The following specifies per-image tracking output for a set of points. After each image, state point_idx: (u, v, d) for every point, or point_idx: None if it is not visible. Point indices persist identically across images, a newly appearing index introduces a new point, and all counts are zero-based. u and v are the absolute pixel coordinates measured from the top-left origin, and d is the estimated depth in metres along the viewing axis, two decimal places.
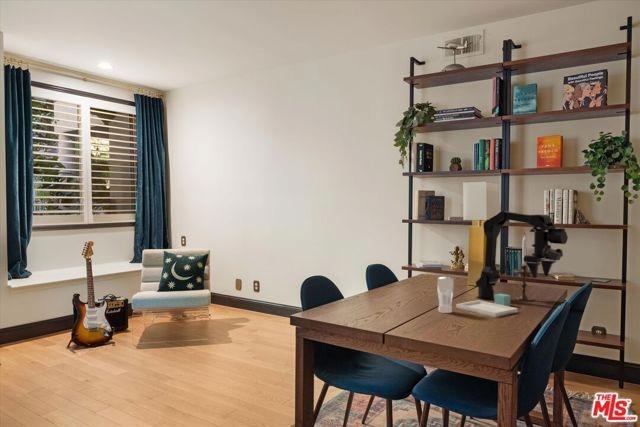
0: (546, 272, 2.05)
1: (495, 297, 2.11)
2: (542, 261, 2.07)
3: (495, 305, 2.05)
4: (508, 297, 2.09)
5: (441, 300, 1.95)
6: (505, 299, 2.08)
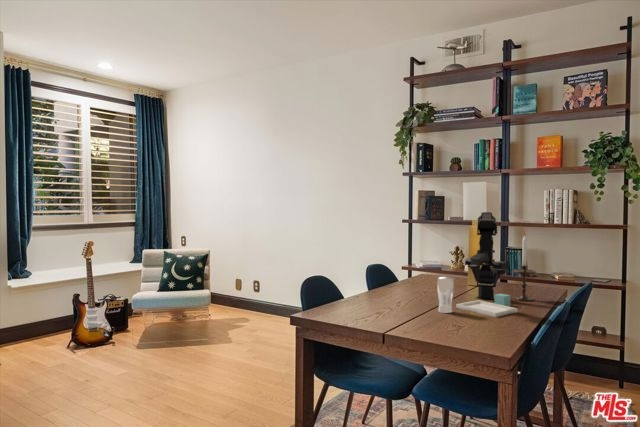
0: None
1: (495, 297, 2.11)
2: None
3: (495, 305, 2.05)
4: (508, 297, 2.09)
5: (441, 300, 1.95)
6: (505, 299, 2.08)
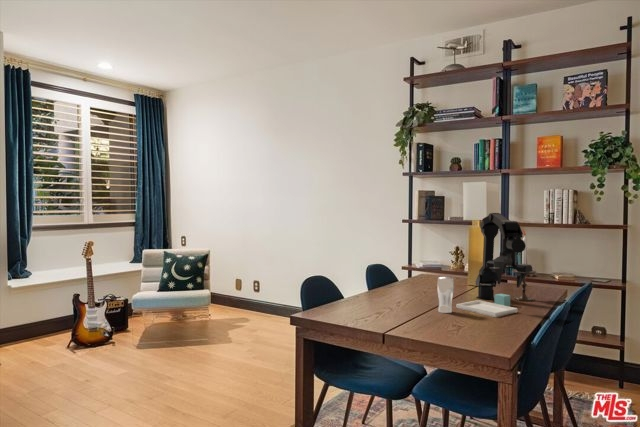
0: None
1: (495, 297, 2.11)
2: None
3: (495, 305, 2.05)
4: (508, 297, 2.09)
5: (441, 300, 1.95)
6: (505, 299, 2.08)
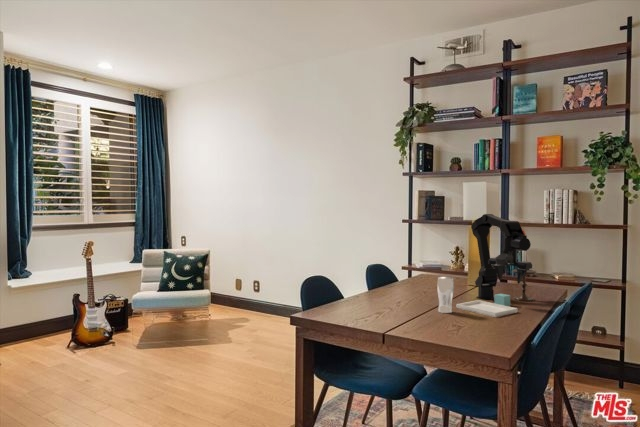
0: None
1: (495, 297, 2.11)
2: None
3: (495, 305, 2.05)
4: (508, 297, 2.09)
5: (441, 300, 1.95)
6: (505, 299, 2.08)
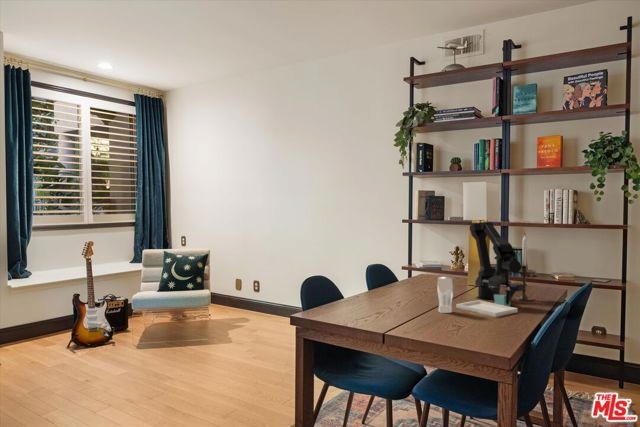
0: None
1: (495, 297, 2.11)
2: None
3: (495, 305, 2.05)
4: None
5: (441, 300, 1.95)
6: (505, 299, 2.08)
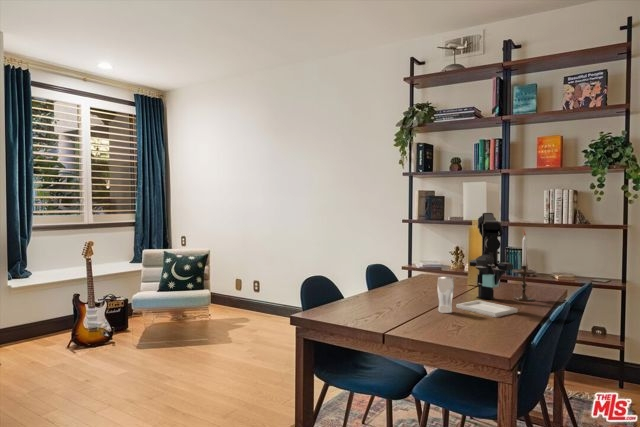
0: None
1: (483, 277, 2.02)
2: None
3: (495, 305, 2.05)
4: None
5: (441, 300, 1.95)
6: (493, 279, 1.99)
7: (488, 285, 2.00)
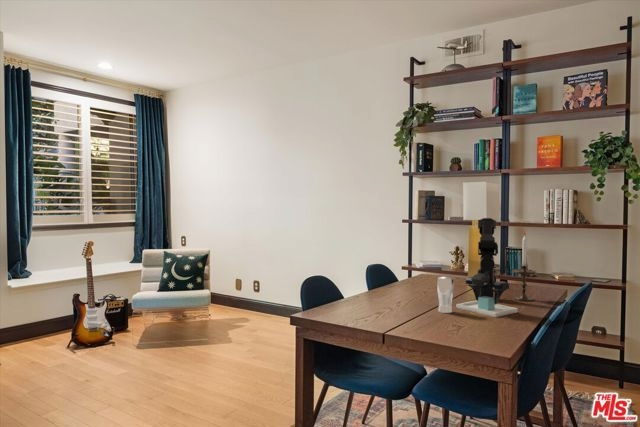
0: None
1: (479, 300, 2.01)
2: None
3: (495, 305, 2.05)
4: (492, 300, 1.99)
5: (441, 300, 1.95)
6: (489, 302, 1.97)
7: (484, 308, 1.98)
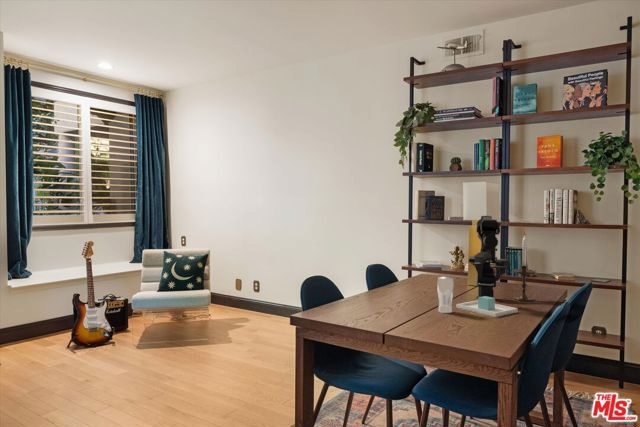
0: None
1: (479, 300, 2.01)
2: None
3: (495, 305, 2.05)
4: (492, 300, 1.99)
5: (441, 300, 1.95)
6: (489, 302, 1.97)
7: (484, 308, 1.98)
